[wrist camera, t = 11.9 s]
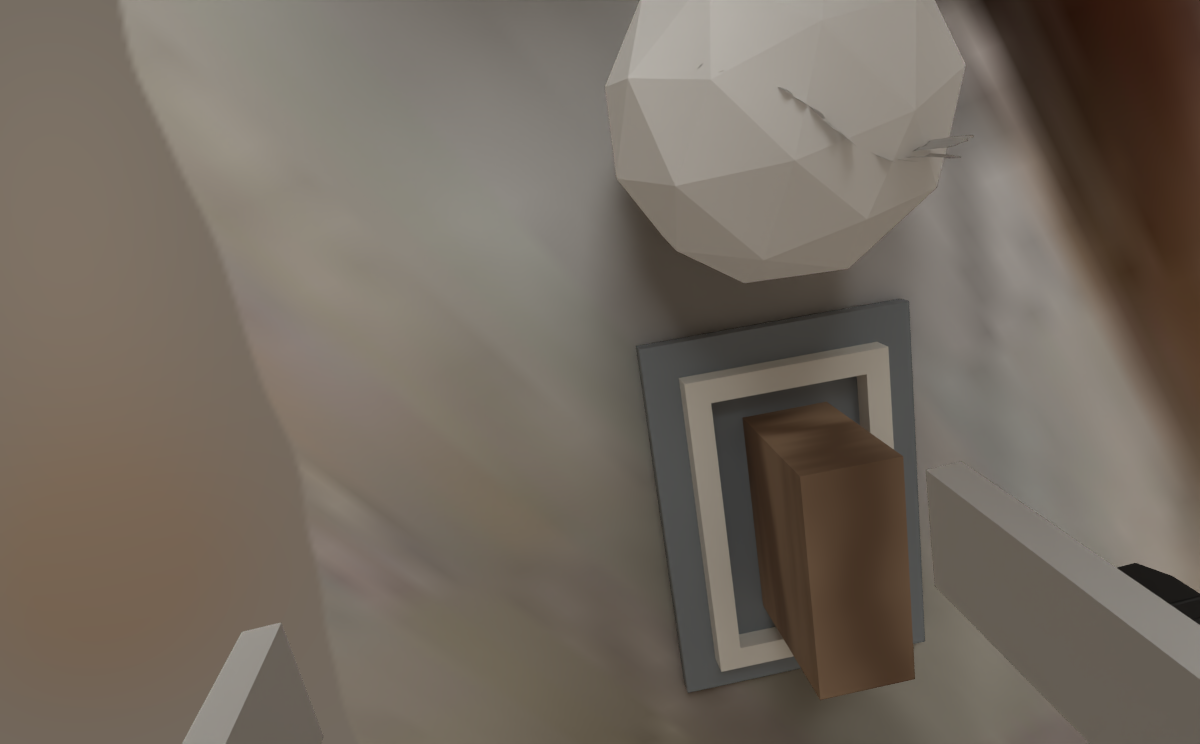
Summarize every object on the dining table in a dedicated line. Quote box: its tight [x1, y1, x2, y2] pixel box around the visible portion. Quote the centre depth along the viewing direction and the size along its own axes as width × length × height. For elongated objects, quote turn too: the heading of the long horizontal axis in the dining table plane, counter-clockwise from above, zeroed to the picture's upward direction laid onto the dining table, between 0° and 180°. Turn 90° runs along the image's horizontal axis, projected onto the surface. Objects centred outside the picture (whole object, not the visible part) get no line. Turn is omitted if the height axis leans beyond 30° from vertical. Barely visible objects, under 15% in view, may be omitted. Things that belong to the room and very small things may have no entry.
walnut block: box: [742, 402, 915, 700], centre depth 38 cm, size 4×11×8 cm, turn 9°
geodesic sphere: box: [605, 0, 973, 283], centre depth 31 cm, size 14×14×14 cm
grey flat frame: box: [636, 299, 925, 693], centre depth 42 cm, size 20×14×2 cm
